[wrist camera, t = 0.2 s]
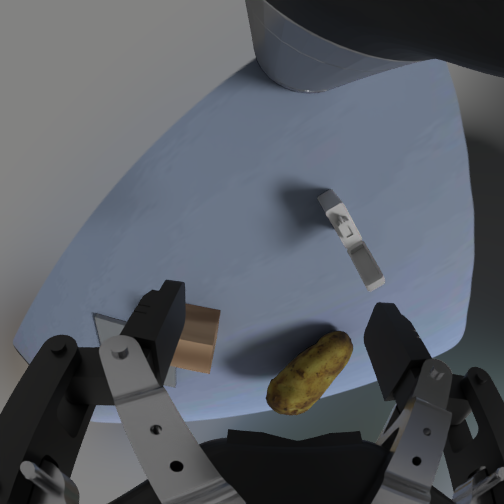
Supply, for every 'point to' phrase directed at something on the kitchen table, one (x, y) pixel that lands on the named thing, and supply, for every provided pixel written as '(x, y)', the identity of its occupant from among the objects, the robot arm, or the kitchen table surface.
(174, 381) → the coaster
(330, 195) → the lighter
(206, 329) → the block
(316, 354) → the potato
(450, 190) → the kitchen table surface
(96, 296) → the kitchen table surface
